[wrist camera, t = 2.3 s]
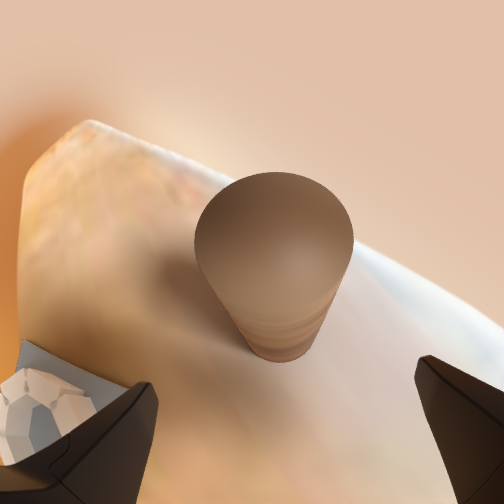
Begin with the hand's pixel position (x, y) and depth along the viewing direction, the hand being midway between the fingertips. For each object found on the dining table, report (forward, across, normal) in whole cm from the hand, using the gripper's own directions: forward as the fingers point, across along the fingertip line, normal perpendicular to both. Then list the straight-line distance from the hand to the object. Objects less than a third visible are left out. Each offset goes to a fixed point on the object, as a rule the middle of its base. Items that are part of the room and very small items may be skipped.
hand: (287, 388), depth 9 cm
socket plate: (+4, +18, +11) cm, 22 cm away
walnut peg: (+11, 0, +4) cm, 12 cm away
